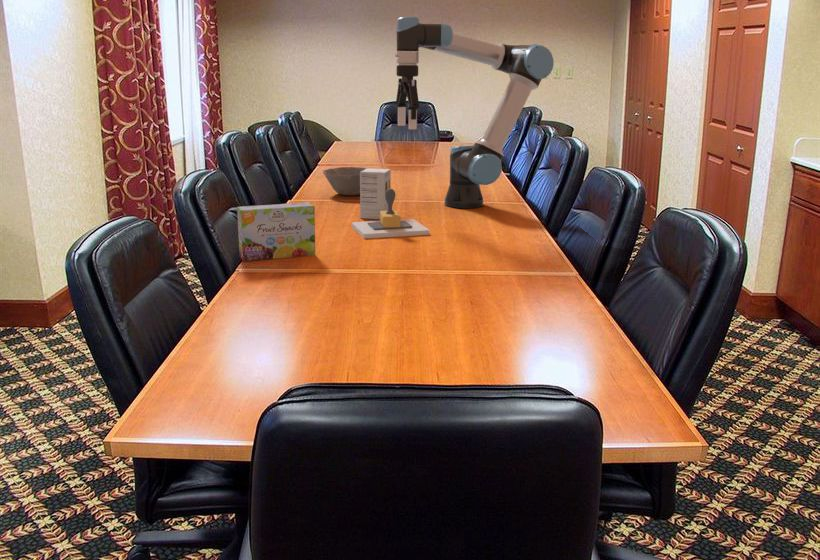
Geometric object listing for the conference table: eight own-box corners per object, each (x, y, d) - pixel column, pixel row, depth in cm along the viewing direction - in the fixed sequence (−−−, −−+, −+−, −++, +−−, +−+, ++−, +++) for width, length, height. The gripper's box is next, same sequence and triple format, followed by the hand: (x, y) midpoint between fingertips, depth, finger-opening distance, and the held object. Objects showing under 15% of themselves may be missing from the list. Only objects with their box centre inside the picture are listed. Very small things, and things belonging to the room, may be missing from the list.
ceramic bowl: (388, 193, 318) (388, 169, 315) (355, 201, 299) (355, 176, 296) (346, 188, 329) (345, 165, 326) (312, 195, 310) (311, 171, 308)
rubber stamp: (400, 227, 245) (400, 191, 242) (382, 227, 245) (382, 191, 241) (396, 221, 255) (396, 185, 251) (379, 221, 254) (379, 186, 251)
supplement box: (384, 220, 266) (384, 172, 261) (359, 218, 268) (359, 171, 263) (391, 214, 275) (391, 168, 270) (366, 213, 277) (366, 167, 272)
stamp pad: (413, 223, 262) (413, 217, 261) (429, 234, 245) (429, 228, 244) (351, 226, 255) (351, 220, 255) (363, 238, 239) (363, 232, 238)
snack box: (243, 262, 211) (240, 209, 206) (239, 257, 216) (236, 206, 211) (316, 255, 219) (314, 204, 214) (310, 251, 224) (309, 201, 219)
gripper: (387, 63, 268) (387, 124, 274) (407, 65, 245) (406, 131, 251) (407, 64, 270) (407, 124, 276) (429, 65, 247) (428, 130, 253)
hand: (407, 127), depth 264 cm, fingers open, 13 cm apart
